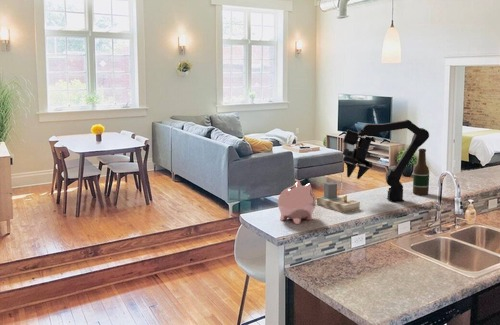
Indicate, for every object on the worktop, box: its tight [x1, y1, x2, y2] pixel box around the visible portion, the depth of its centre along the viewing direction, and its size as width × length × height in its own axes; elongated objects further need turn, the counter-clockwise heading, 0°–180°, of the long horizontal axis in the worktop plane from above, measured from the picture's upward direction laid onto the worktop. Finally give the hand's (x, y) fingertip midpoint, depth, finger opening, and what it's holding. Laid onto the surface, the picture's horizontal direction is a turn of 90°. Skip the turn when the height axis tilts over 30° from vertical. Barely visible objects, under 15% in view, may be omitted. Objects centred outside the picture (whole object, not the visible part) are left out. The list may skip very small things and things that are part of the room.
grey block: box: [323, 181, 338, 199], centre depth 232 cm, size 5×5×7 cm
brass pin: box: [343, 194, 348, 202], centre depth 224 cm, size 2×2×3 cm
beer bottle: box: [412, 148, 430, 197], centre depth 248 cm, size 8×8×24 cm
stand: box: [316, 195, 361, 214], centre depth 229 cm, size 19×10×4 cm, turn 33°
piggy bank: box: [277, 181, 317, 225], centre depth 210 cm, size 15×18×16 cm
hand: (353, 178), depth 239 cm, fingers open, 9 cm apart
